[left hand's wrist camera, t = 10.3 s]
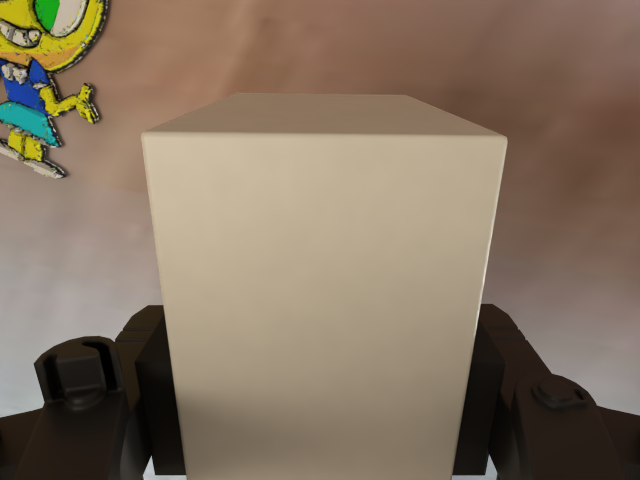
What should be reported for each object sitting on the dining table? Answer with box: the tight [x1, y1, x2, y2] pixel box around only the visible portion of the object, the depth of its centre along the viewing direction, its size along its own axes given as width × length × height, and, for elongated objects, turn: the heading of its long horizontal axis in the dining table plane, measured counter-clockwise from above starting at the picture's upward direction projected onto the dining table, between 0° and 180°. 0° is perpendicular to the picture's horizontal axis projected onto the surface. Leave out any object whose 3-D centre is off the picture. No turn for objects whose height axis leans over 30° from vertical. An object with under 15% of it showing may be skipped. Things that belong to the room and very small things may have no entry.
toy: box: [0, 0, 108, 178], centre depth 26 cm, size 10×1×15 cm
